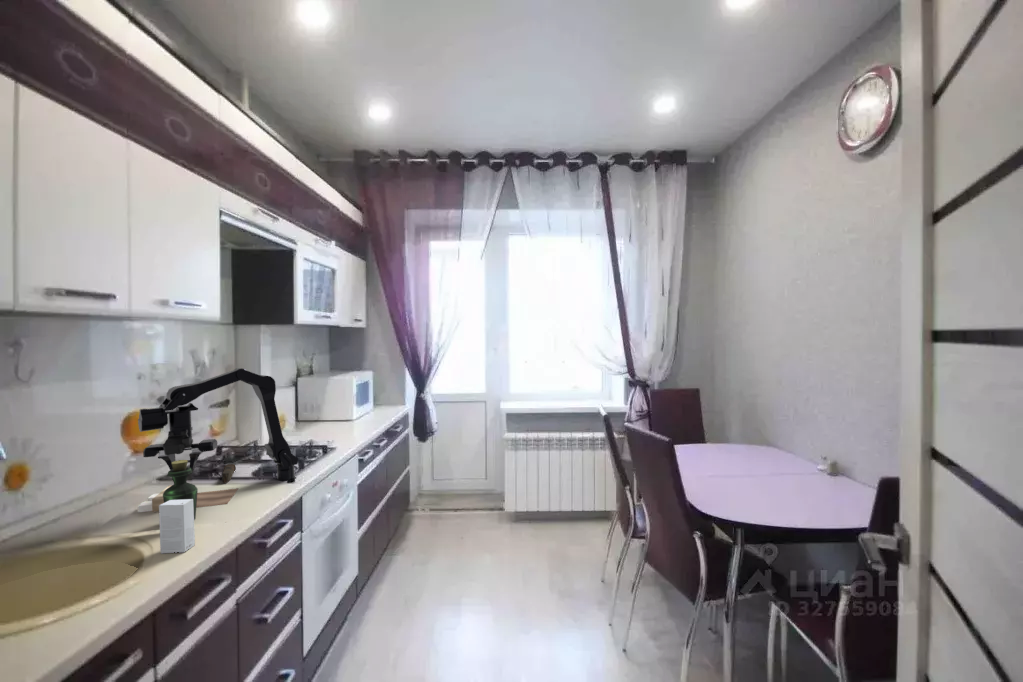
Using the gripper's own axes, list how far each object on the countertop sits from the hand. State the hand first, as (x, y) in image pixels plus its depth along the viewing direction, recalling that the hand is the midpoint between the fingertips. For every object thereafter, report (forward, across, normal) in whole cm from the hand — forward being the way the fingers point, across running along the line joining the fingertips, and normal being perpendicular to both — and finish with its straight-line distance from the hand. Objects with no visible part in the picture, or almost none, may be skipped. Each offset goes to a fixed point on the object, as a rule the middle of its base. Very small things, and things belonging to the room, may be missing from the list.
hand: (182, 474), depth 150 cm
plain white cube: (+10, -8, +3) cm, 13 cm away
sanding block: (+10, -4, 0) cm, 11 cm away
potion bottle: (+10, +5, -19) cm, 22 cm away
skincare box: (+10, +10, -37) cm, 40 cm away
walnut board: (+10, +7, 0) cm, 12 cm away
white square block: (+10, -8, -4) cm, 13 cm away
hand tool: (+10, +7, +25) cm, 28 cm away
